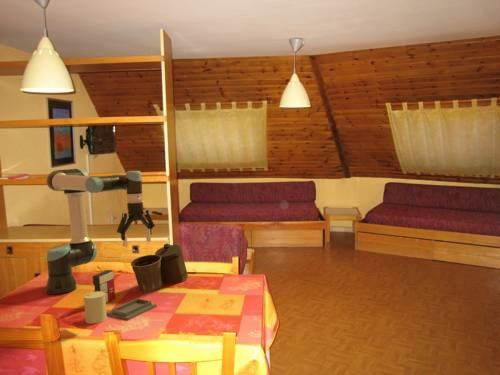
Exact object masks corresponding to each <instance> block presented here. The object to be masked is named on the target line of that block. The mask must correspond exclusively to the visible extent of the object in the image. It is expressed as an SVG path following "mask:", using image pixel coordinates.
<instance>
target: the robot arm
mask: <svg viewBox="0 0 500 375" xmlns="http://www.w3.org/2000/svg"><path fill="white" fill-rule="evenodd" d="M142 177H143V176H142V172H141V171H140V170H128V171H126V172H125V174H113V175H102V176H101V175H100V176H97V175H96V176H95V175H94V176H91V175H89V174H88V172H86V170H84V169H82V168H68V169H66V168H65V169H56V170H55V169H54V170H53V171H51V172H50V173H48V175H47V176H46V185H47V188H48V189H50V190H52V191H54V192H63V194H64V195H65V196H66V197H67V204H68V205H67V206H68V214H69V223H70V224H69V225H70V233H71V240H70V241H69V244H61V245H60V244H59V245H56V246H55V245H54V246H53V247H50V248H49V249H48V250H47V251H46V260H47V261H46V262H47V272H48V273H47V274H48V278H47V281H46V286H45V293H47V294H50V295H57V294H64V293H68V292H72V291H74V290H75V289H77V281H76V280H75V277H74V275H73V271H72V270H73V268H75V267H78V266H81V265H87V264H89V263H91V262H94V261H95V259H96V257H97V255H98V249H97V246H96V243H95V242H93V241H92V239H91V238H90V237H89V234H88V222H87V214H86V212H87V211H86V203H85V194H87V192H88V193H90V194H97V193H103V192H112V191H120V190H122V191H126V201H127V204H126V205H127V211H128V212H127V213H125V212H123V213H122V214H121V219H120V222H119V225H118V226H117V227H118V228H117V230H116V232H117V233H118V234H120V238H121V241H122V247H125V248H127V247H128V234H127V231H128V229H129V228H130V226H131V225H132V223H133V222H136V221H141V222H142V224H143V225H144V226H145V227H146V228H145V236H146V237H145V238H146V239H145V240H146V242H148V243H149V242H151V243H152V240H151V237H152V236H151V235H152V230H153V228H154V227H155V226H156V225H155V223H154V222H153V219H152V217H151V215H150V212H149V210H148V209H144V202H143V200H144V198H143V183H142V182H143V178H142ZM143 215H144V216H143Z"/></svg>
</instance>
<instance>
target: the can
mask: <svg viewBox="0 0 500 375" xmlns="http://www.w3.org/2000/svg"><path fill="white" fill-rule="evenodd" d="M83 301H84V302H83V303H84V316H85V317H84V318H85V319H84V320H85V323H86V324H90V325H91V324H99V323H102V322H104V321H106V320H107V319H108V315H107V303H106V300H105V292H102V291H96V292H95V291H90V292H88V293H86V294H84V295H83Z"/></svg>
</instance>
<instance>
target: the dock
mask: <svg viewBox="0 0 500 375" xmlns="http://www.w3.org/2000/svg"><path fill="white" fill-rule="evenodd" d="M155 308H157V304H156V303H153V302H152V300H147V299H143V298H136V299H134V300H130V301H129V302H127V303H124V304H122V305H121V304H120V305H119V306H116V307H115V308H113V309H111V310H109V311H106V315H107V316H111V317H115V318H119V319H122V320H126V321H131V320H132V319H134V318H136V317H138V316H139V315H143V314H144V313H146V312H149V311H151V310H153V309H155Z"/></svg>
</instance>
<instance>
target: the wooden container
mask: <svg viewBox="0 0 500 375" xmlns="http://www.w3.org/2000/svg"><path fill="white" fill-rule="evenodd" d="M154 255H156V256H157V255H159V256H161V279H162V283H165V284H167V285H168V284H169V285H171V284H180V283H183V282H185V281H186V280H187V278H188V276H189V275H188V272H187V267H186V262H185V259H184V256H183V252H182V247H181V245H179V244H169V243H165V244H164V245H163V246H162V247H160V248H159V249H157V250H156V251H155V253H154ZM159 256H157V258H158V259H159Z"/></svg>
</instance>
